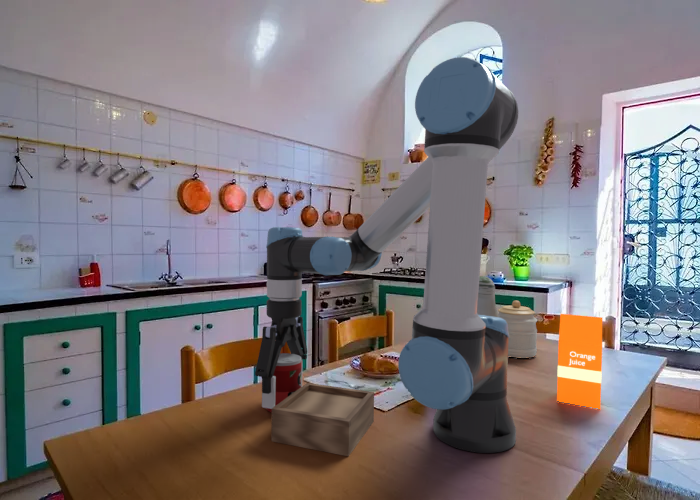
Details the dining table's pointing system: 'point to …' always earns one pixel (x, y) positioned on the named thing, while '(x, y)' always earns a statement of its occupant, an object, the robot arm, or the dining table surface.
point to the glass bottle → (486, 297)
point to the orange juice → (580, 360)
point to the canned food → (287, 376)
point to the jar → (520, 329)
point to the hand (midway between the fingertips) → (283, 397)
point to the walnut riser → (323, 418)
